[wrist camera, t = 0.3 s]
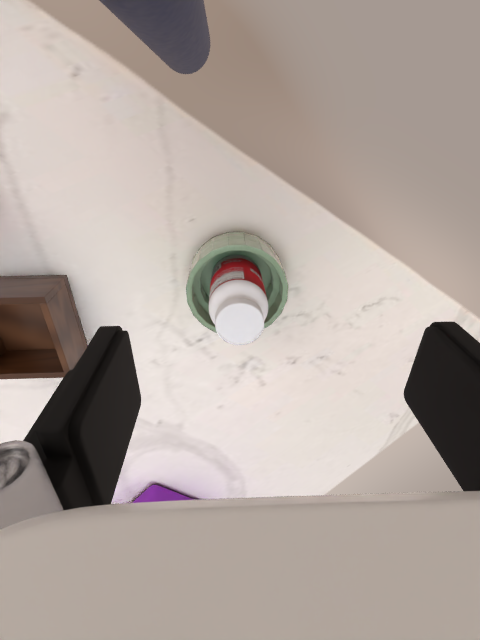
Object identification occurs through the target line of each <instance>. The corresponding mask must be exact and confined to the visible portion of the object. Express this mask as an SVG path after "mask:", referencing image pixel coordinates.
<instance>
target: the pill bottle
mask: <svg viewBox="0 0 480 640" xmlns="http://www.w3.org/2000/svg"><path fill="white" fill-rule="evenodd" d="M209 314H210V317H211V320H212V321H213V323H214V324H215V328H216V331H217V333H218V335H219V336H220V337H221V338H222V339H223V340H224V341H226V342H228V343H230V344H234V345H245V344H248V343H251V342H253V341H254V340H256V339H257V338H258V337H259V336H260V335H261V333H262V331H263V329H264V321H265V319H266V317H267V314H268V300H267V296H266V292H265V288H264V284H263V280H262V275H261V272H260V270H259V268H258V266H257V265H256V263H255V262H254V261H252V260H251V259H250V258H248V257H245V256H241V255H232V256H228V257H225V258H223V259H222V260H220V261H219V262H218V263H217V264H216V266H215V267H214V269H213V271H212V275H211V283H210V295H209Z"/></svg>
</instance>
